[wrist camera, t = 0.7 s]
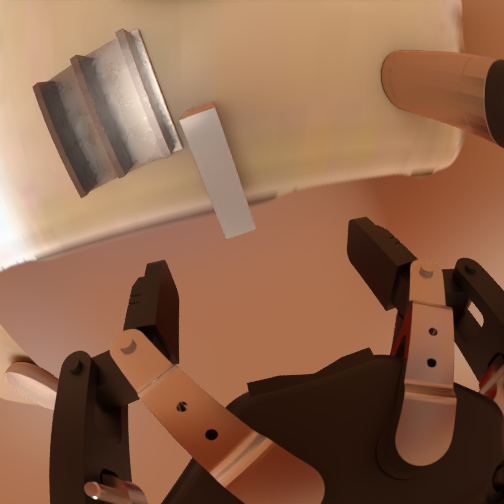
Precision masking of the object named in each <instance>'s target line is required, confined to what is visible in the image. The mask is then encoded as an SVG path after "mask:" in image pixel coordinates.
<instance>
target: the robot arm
mask: <svg viewBox="0 0 504 504" xmlns="http://www.w3.org/2000/svg"><path fill="white" fill-rule="evenodd" d="M381 76H382V84H383V87H384V90H385V92H386V95H387V96H388V98H389V99H390V101H391V102H392V103H393V104H394V105H395V106H397V107H398V108H400V109H403V110H405V111H409V112H412V113H416V114H419V115H422V116H425V117H428V118H431V119H434V120H437V121H440V122H443V123H446V124H449V125H452V126H454V127H457V128H459V129H462V130H465V131H467V132H470V133H472V134H474V135H477V136H479V137H481V138H484V139H486V140H488V141H490V142H492V143H495V144H497V145H499V146H500V147H503V148H504V60H502V59H497V58H491V57H485V56H478V55H472V54H464V53H454V52H442V51H420V50H399V51H395V52H393V53H391V54H390V55H389V56H388V57H387V58H386V60H385V62H384V64H383V67H382V75H381ZM348 226H349V227H348V243H347V254H348V258H349V260H350V262H351V264H352V265H353V266H354V267H355V269H356V270H357V271H358V273H359V274H360V275H361V277H362V278H363V279H364V281H365V282H366V284H367V285H368V286H369V288H370V289H371V290H372V292H373V293H374V295H375V296H376V297H377V299H378V300H379V302H380V303H381V304H382V306H383V307H384V309H385V310H386V311H388V310H390V309H393V308H396V309H397V310H398V311H397V315H396V321H395V328H394V336H393V341H392V347H391V352H390V355H373V353H372V351H371V349H370V348H366V349H363V350H361V351H358V352H355V353H352V354H350V355H347V356H344V357H341V358H340V359H338V360H337V361H335V362H333V363H332V364H330V365H328V366H327V367H325V368H323V369H322V370H320V371H318V372H316V373H314V374H304V375H286V376H285V375H283V376H276V377H272V378H267V379H263V380H259V381H255V382H250V383H247V385H248V390H249V392H247V393H245V394H242V395H241V396H239V397H238V398H236V399H235V400H233V401H232V402H231V403H230V404H229V405H227V407H226V408H225V407H223V406H222V405H221V404H220V403H218V402H217V401H216V400H215V399H214V398H213V397H211V396H210V395H209V394H208V393H207V392H206V391H204V390H203V389H202V388H201V387H200V386H199V385H198V384H197V383H195V382H194V381H193V380H192V379H191V378H190V377H189V376H188V375H187V374H186V373H185V372H184V371H183V370H182V369H181V368H180V367H178V366H177V365H176V364H179V295H178V291H177V288H176V285H175V283H174V280H173V278H172V275H171V273H170V270H169V268H168V265H167V263H166V261H165V260H161V261H157V262H152V263H148V264H147V266H146V271H145V276H144V277H140V278H138V279H137V281H136V282H135V284H134V285H133V286H132V290H131V295H130V297H131V298H130V299H129V305H128V309H127V313H126V318H125V323H124V329H123V332H121V333H119V334H118V335H117V336H116V337H115V338H114V339H113V340H112V342H111V344H110V349H109V350H108V351H106V352H104V353H102V354H100V355H97V356H95V357H92V358H91V357H90V356H89V355H88V353H86V352H84V351H77V352H74V353H72V354H70V355H69V356H68V357H67V358H66V359H65V361H64V362H63V365H62V368H61V372H60V377H59V382H58V388H57V394H56V400H55V407H54V414H53V422H52V433H51V445H50V469H49V472H50V473H49V481H50V504H148V502H147V499H146V496H145V494H144V492H143V491H142V490H141V489H140V487H138V486H137V485H136V484H134V483H132V478H131V467H130V454H129V436H128V404H129V403H132V402H134V401H136V400H139V399H141V400H142V402H143V403H144V404H145V405H146V407H147V408H148V409H149V410H150V412H151V413H152V414H153V415H154V416H155V417H156V419H157V420H158V421H159V422H160V423H161V424H162V426H163V427H165V429H166V430H167V431H168V432H169V433H170V434H171V435H172V436H173V438H174V439H175V440H176V441H177V442H178V443H179V444H180V445H181V446H182V447H183V448H184V449H185V450H186V451H187V452H188V453H189V454H190V455H191V456H192V459H191V460H190V462H189V464H188V465H187V467H186V468H185V470H184V471H183V473H182V474H181V476H180V477H179V479H178V480H177V481H176V483H175V484H174V486H173V487H172V489H171V490H170V492H169V493H168V495H167V496H166V497H165V499H164V500H163V502H162V503H161V504H504V291H503V289H502V288H501V287H500V286H499V285H498V284H497V283H496V282H495V281H494V279H493V278H492V277H491V276H490V275H489V274H488V273H487V272H486V271H485V270H484V269H483V268H482V267H481V266H480V265H479V264H478V263H477V262H476V261H474V260H472V259H469V258H461V259H459V260H458V261H457V263H456V266H455V268H454V269H443V270H441V268H440V267H439V266H438V265H437V264H436V263H434V262H432V261H430V260H426V259H417V258H416V257H415V256H414V255H413V254H412V253H411V252H410V251H409V250H408V249H407V248H406V247H405V246H404V245H403V244H402V243H400V241H399V240H398V239H396V238H394V236H393V235H392V234H391V233H390V232H389V231H388V230H386V229H384V228H382V227H380V226H378V225H377V226H376V225H375V224H374V223H373V222H372V221H371V220H369V219H368V218H367V217H362V218H357V219H352V220H350V221H349V225H348ZM471 302H473V303H474V304H475V306H476V307H477V308H478V310H479V311H480V312H481V314H482V315H483V319H484V323H483V326H482V328H481V326H480V325H479V323H478V322H477V321H476V319H475V318H474V317H473V315H472V314H471V313H470V311H469V310H468V308H469V306H470V304H471ZM454 341H455V343H456V345H457V346H458V347H459V349H460V351H461V353H462V354H463V356H464V357H465V359H466V361H467V362H468V364H469V366H470V367H471V369H472V371H473V373H474V374H475V376H476V378H477V380H478V381H479V389H480V390H479V392H476V391H473V390H471V389H469V388H467V387H464V386H462V385H460V384H457V383H455V382H453V379H454Z"/></svg>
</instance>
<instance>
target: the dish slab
mask: <svg viewBox="0 0 504 504" xmlns="http://www.w3.org/2000/svg"><path fill="white" fill-rule="evenodd" d="M179 121H180V124H181V126H182V129H183V131H184V134H185V137H186V139H187V142H188V144H189V147H190V150H191V152H192V155H193V157H194V160H195V162H196V165H197V167H198V170H199V173H200V175H201V178H202V180H203V183H204V185H205V188H206V190H207V193H208V195H209V198H210V200H211V203H212V205H213V208H214V210H215V213H216V215H217V217H218V220H219V222H220V225H221V227H222V230H223V232H224V235H225V237H226V239H229V238H232V237H235V236H238V235H241V234H244V233H247V232H250V231H253V230H256V227H255V224H254V221H253V219H252V215H251V212H250V209H249V206H248V203H247V200H246V197H245V194H244V191H243V188H242V185H241V182H240V179H239V176H238V173H237V170H236V167H235V164H234V161H233V158H232V155H231V152H230V150H229V147H228V144H227V141H226V138H225V135H224V132H223V129H222V126H221V123H220V120H219V117H218V114H217V112H216V109H215V106H214V103H213V101H212V102H209V103H207V104H204V105H201V106H198V107H195V108H192V109H190V110H187V112H186V113H185V114H184V115H183V117H182V118H181V119H180V120H179Z"/></svg>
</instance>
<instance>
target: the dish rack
mask: <svg viewBox="0 0 504 504" xmlns="http://www.w3.org/2000/svg"><path fill="white" fill-rule="evenodd" d="M115 33H116V36H117V39H115V40H113V41H111V42H109V43H108V44H106V45H104V46H102V47H100V48H99V49H97V50H95V51H93V52H92V53H90V54H88V55H87V56H80V55H75V56H74V57H72V58H71V59H70V61H71V64H72V65H71V66H69V67H68V68H66V69H65V70H64V71H62V72H61V73H59V74H58V75H56V76H55V77H54V78H52V79H51V80H50V81H48V82H39V83H37V84H35V85H34V86H33V90H34V93H35V96H36V98H37V101H38V104H39V107H40V109H41V112H42V115H43V117H44V120H45V122H46V125H47V127H48V130H49V132H50V135H51V137H52V139H53V142H54V144H55V146H56V148H57V151H58V153H59V155H60V157H61V159H62V161H63V163H64V166H65V168H66V170H67V172H68V174H69V176H70V178H71V180H72V182H73V184H74V186H75V187H76V189H77V191H78V193H79V195H80V197H81V198H83V197H84V196H86V195H87V194H88V193H89V192H90V191H91V190H93V189H95V188H97V187H99V186H101V185H103V184H105V183H107V182H109V181H111V180H113V179H115V178H117V177H118V178H122V177H124V176H125V175H126V174H127V173H128V172H129V171H131V170H134V169H136V168H138V167H140V166H142V165H145V164H147V163H149V162H151V161H154V160H156V159H158V158H161V157H163V158H166V157H169V156H171V155H172V153H173V152H175V151H178V150H180V149H182V148H183V146H182V143H181V140H180V138H179V135H178V133H177V130H176V128H175V125H174V123H173V120H172V117H171V115H170V112H169V110H168V107H167V104H166V102H165V99H164V96H163V94H162V91H161V88H160V86H159V83H158V80H157V78H156V75H155V72H154V70H153V67H152V64H151V61H150V59H149V56H148V53H147V50H146V47H145V45H144V42H143V39H142V36H141V33H140V31H139V30H138V29H136V30H134V31H131V32H127V31H126V30H124V29H121V30H119V31H117V32H115Z"/></svg>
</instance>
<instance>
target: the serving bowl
mask: <svg viewBox="0 0 504 504" xmlns="http://www.w3.org/2000/svg"><path fill="white" fill-rule="evenodd" d="M5 379H6V381H7V382H8V383H9V385H10V386H11V387H12V388H13V389H14V390H16V391H17V392H18V393H19V394H21V395H22V396H24V397H25V398H27V399H29V400H30V401H32V402H34V403H36V404H38V405H40V406H43V407H46V408H48V409H52V410H54V407H55V400H56V394H57V388H58V382H59V380H58V379H57V378H56V377H54V375H52V374H51V373H49V372H48V371H46V370H44V369H42V368H40V367H38V366H36V365H33V364H30V363H26V362H17V363H14V364H12V365H11V366H9V368H8V369H7V371H6V372H5Z"/></svg>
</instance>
